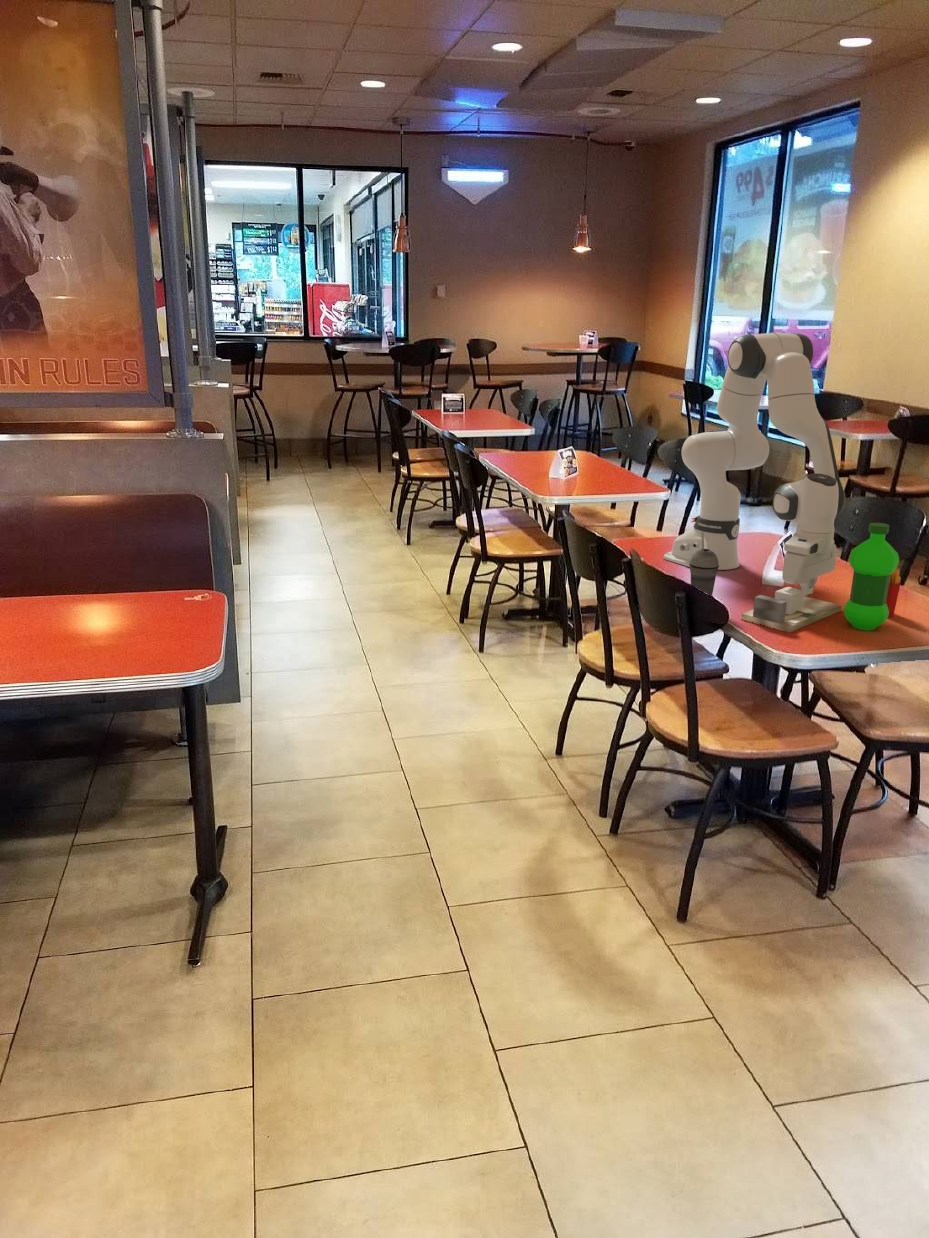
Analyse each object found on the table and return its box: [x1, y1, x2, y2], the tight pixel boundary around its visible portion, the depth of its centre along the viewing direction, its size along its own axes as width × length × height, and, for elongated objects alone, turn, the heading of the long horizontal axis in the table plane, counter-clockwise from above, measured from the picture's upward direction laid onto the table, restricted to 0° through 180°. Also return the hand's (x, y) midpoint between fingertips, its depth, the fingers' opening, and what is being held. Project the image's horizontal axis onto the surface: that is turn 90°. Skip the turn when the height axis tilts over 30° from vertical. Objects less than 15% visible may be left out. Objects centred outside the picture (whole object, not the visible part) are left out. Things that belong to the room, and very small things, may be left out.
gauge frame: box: [741, 594, 843, 634], centre depth 227 cm, size 13×25×6 cm, turn 132°
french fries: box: [886, 569, 902, 618], centre depth 228 cm, size 8×4×12 cm, turn 8°
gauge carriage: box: [774, 586, 811, 615], centre depth 223 cm, size 8×9×5 cm
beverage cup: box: [689, 531, 719, 596], centre depth 229 cm, size 7×7×20 cm
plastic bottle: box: [843, 522, 900, 631], centre depth 216 cm, size 10×10×25 cm
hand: (806, 594), depth 231 cm, fingers closed
